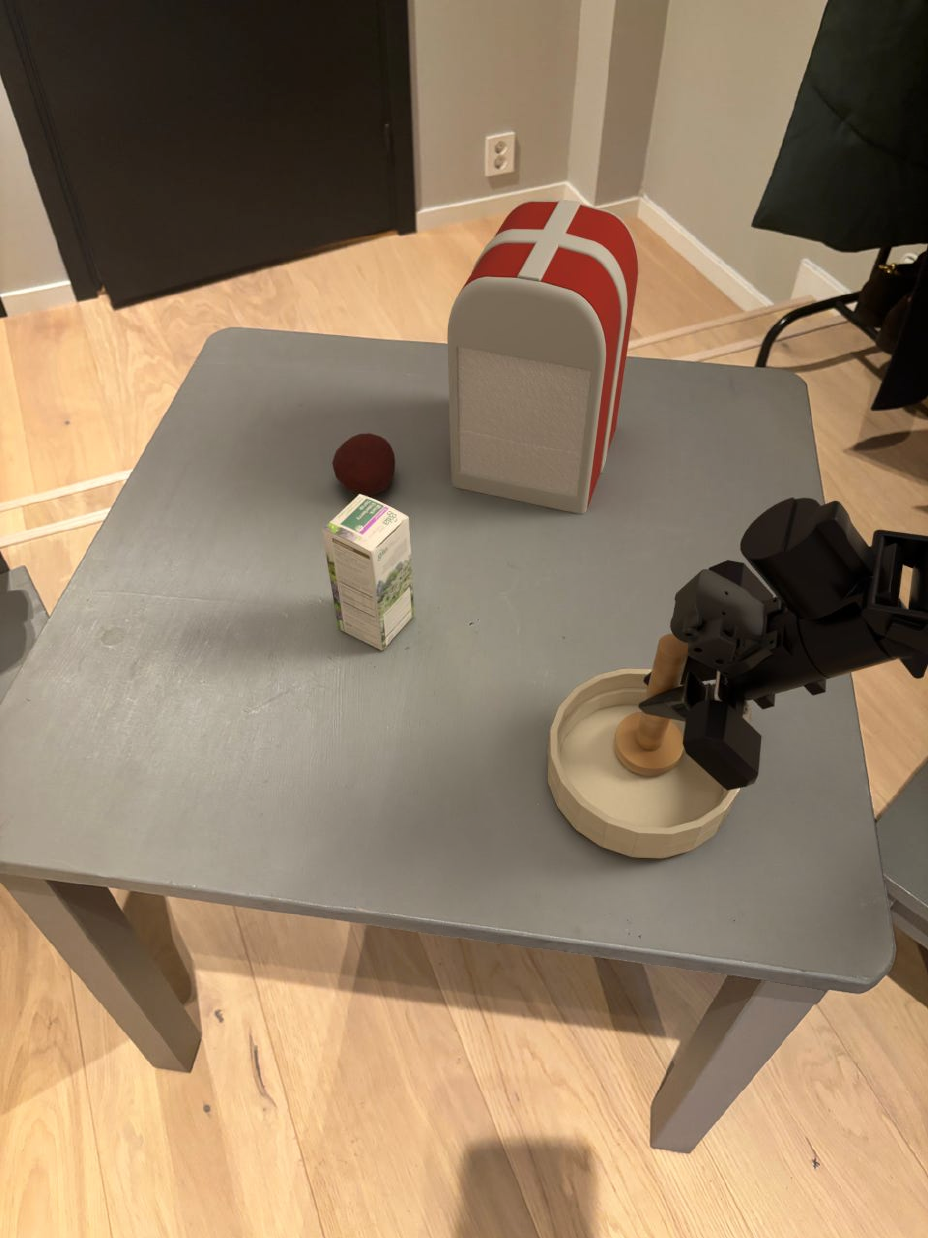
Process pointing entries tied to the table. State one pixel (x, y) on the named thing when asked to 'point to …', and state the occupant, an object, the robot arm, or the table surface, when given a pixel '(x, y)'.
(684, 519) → the table surface
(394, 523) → the syrup box
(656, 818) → the bowl
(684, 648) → the tan wooden tall post
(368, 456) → the potato
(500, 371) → the red white rounded box
